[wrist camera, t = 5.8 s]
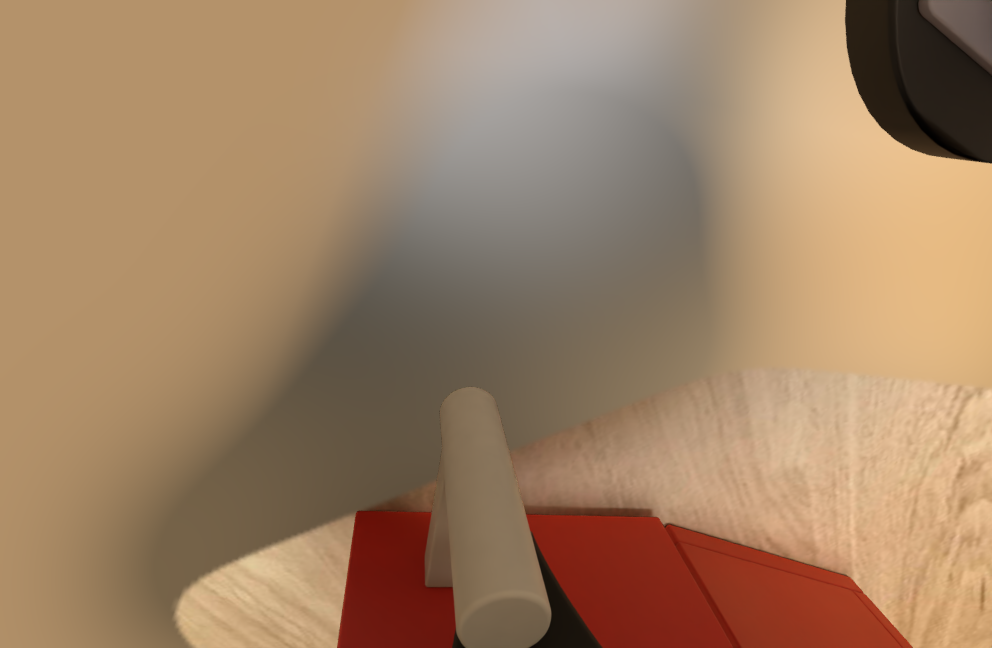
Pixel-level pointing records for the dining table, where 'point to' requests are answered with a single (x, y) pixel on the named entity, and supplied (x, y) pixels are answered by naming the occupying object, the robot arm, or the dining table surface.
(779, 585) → the cabinet
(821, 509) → the dining table surface
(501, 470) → the red cabinet door
